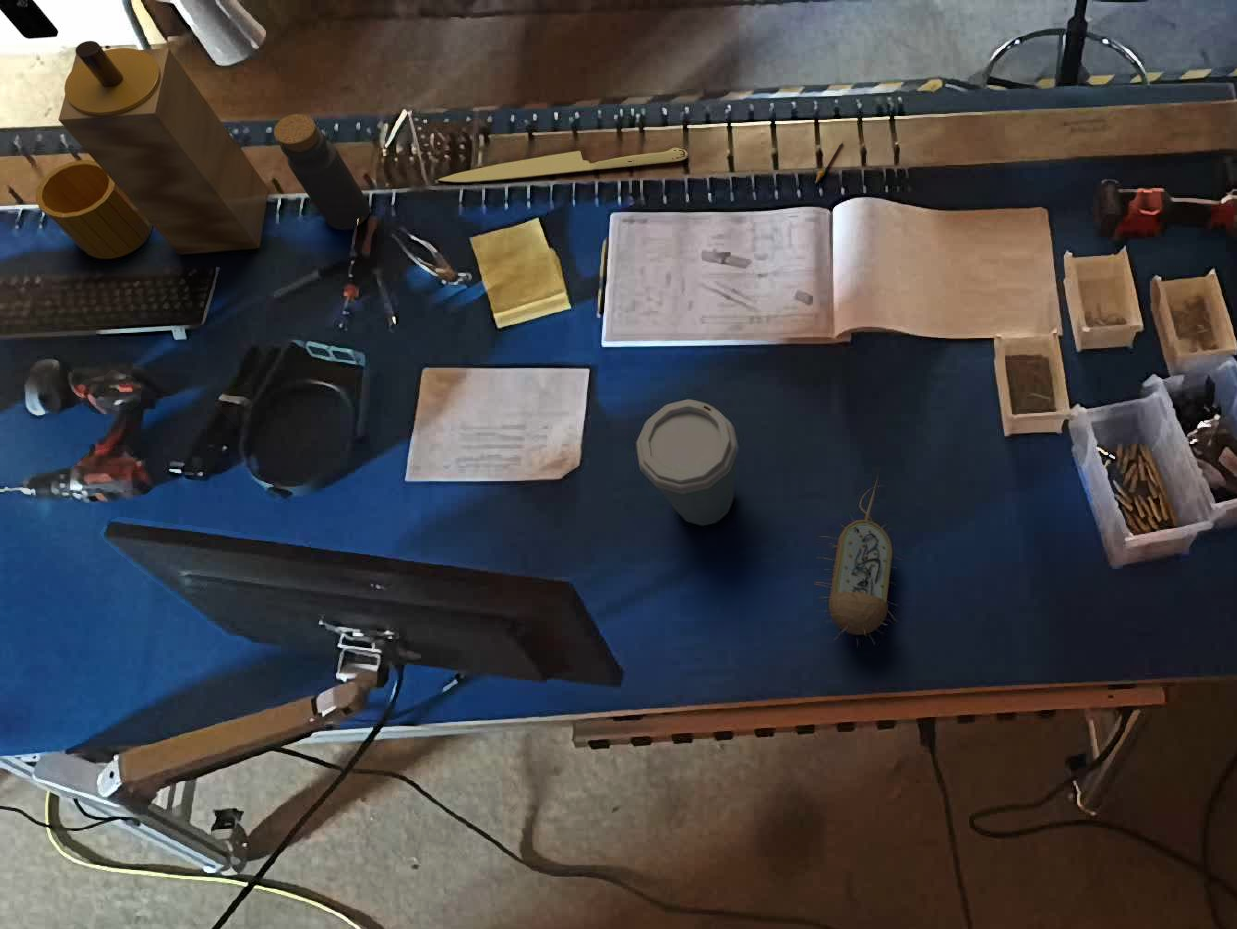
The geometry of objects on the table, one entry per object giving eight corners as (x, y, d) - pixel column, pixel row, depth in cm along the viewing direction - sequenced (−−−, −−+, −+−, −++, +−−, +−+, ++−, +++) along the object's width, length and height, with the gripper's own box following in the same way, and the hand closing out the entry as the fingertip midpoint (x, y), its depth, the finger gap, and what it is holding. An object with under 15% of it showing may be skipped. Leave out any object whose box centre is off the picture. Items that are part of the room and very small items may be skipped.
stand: (178, 254, 136) (57, 119, 115) (190, 194, 140) (75, 53, 119) (259, 248, 137) (154, 113, 116) (268, 188, 141) (168, 47, 120)
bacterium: (893, 499, 126) (939, 470, 118) (873, 663, 118) (920, 644, 110) (815, 470, 122) (856, 438, 114) (788, 639, 113) (830, 617, 105)
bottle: (315, 219, 139) (257, 135, 125) (345, 189, 141) (291, 103, 128) (350, 237, 138) (296, 153, 124) (380, 206, 140) (330, 121, 127)
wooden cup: (63, 237, 136) (19, 195, 129) (120, 193, 140) (81, 149, 133) (110, 270, 135) (68, 228, 127) (167, 224, 138) (130, 181, 131)
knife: (436, 162, 143) (434, 185, 141) (685, 134, 146) (687, 155, 144) (439, 170, 144) (438, 192, 142) (686, 141, 147) (689, 163, 145)
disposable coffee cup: (713, 558, 120) (696, 502, 107) (637, 513, 122) (610, 451, 109) (766, 487, 124) (756, 424, 111) (691, 444, 126) (672, 377, 113)
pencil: (843, 142, 147) (843, 138, 147) (818, 186, 144) (817, 182, 143) (837, 140, 147) (837, 137, 147) (812, 184, 144) (812, 180, 143)
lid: (47, 90, 117) (17, 56, 113) (120, 38, 121) (94, 3, 116) (107, 129, 115) (79, 95, 111) (180, 75, 118) (155, 40, 114)
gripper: (-102, -223, 96) (31, -53, 112) (-156, -97, 89) (-5, 66, 104) (-14, -228, 97) (106, -58, 112) (-61, -103, 89) (75, 60, 105)
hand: (52, 1), depth 108 cm, fingers open, 9 cm apart
